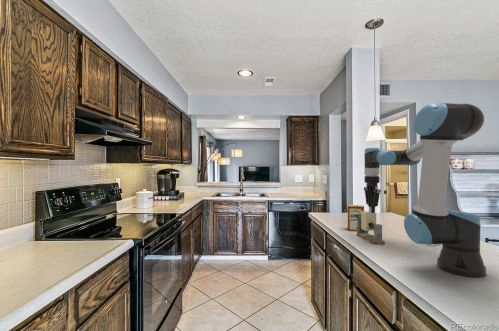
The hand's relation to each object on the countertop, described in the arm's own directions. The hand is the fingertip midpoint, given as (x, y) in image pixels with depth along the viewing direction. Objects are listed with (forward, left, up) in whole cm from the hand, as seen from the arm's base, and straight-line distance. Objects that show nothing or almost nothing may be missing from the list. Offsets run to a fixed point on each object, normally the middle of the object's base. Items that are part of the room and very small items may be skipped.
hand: (371, 218), depth 143 cm
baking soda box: (+22, -2, -12) cm, 25 cm away
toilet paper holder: (+2, 0, -12) cm, 12 cm away
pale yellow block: (+3, 0, -7) cm, 8 cm away
